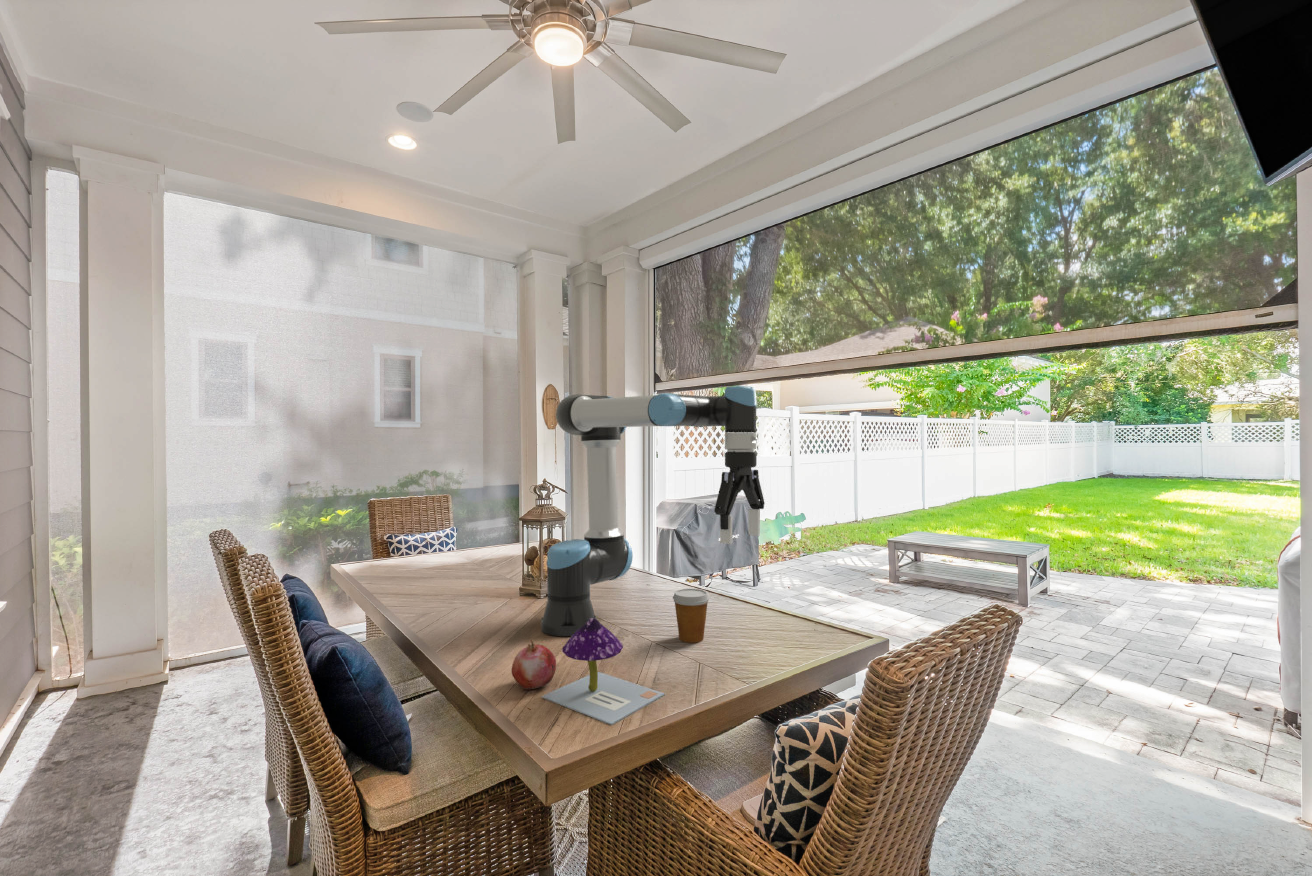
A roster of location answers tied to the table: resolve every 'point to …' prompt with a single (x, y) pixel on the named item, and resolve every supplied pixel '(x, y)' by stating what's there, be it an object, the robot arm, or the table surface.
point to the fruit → (534, 666)
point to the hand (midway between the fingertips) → (740, 539)
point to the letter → (604, 698)
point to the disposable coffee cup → (691, 613)
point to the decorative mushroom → (592, 647)
